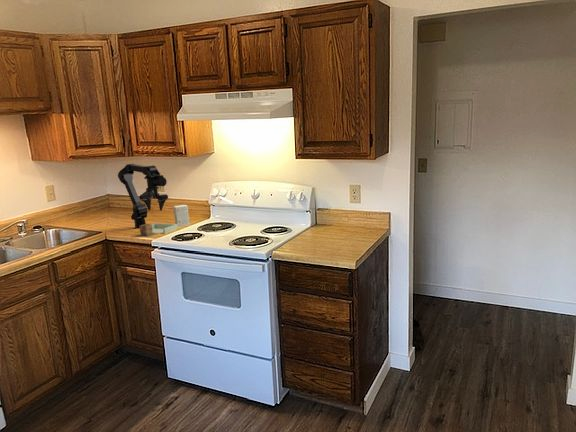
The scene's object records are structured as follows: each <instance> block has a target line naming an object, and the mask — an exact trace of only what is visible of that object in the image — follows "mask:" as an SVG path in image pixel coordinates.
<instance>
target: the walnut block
mask: <svg viewBox="0 0 576 432" xmlns="http://www.w3.org/2000/svg"><path fill="white" fill-rule="evenodd" d="M152 224H153V223H148V224H147V223H146V224H144V225H141V226H140V229H139V232H140V233H139V234H141V236H149V235H151V234H153V231H152Z"/></svg>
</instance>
